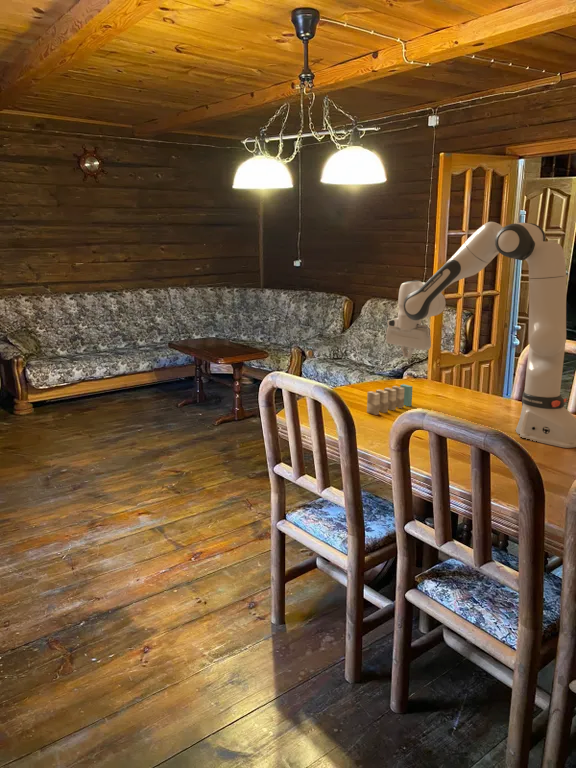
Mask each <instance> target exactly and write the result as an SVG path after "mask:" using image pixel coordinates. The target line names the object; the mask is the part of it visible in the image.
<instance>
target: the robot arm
mask: <svg viewBox="0 0 576 768" xmlns="http://www.w3.org/2000/svg"><path fill="white" fill-rule="evenodd" d="M499 254H501V255H502V256H504V257H507V258H509V259H513V260H518V261H526V263H527V266H528V345H529V347H528V354H527V363H526V373H525V381H524V390H523V392H522V396H521V397H522V399H521V407H522V408H521V412H520V416H519V419H518V420H519V421H518V423H517V426H516V427H515V430H516V431H515V432H516V434H518V435H519V434H520V435H519V438H520V437H522V438H526V439H525V440H527V439H530V440H529V441H532V440H533V441H532V442H536V441H537V442H536V443H541V444H545V445H550V446H554V447H560V448H565V449H567V448H568V449H569V448H570V449H572V448H576V417H575V416H574V415H573V414H572V413H571V412H570V411H568V409H567V408H566V407H565V403H567V402H568V401H567V399H568V398H563V396H562V394H561V387H562V386H561V385H562V379H563V369H564V359H565V349H566V343H567V267H566V258H565V253H564V248H563V247H562V245H561V244H559V243H558V242H555V241H546V232H545V230H544V229H543V228H542V227H541V226H539V225H538V224H536V223H532V222H531V223H530V222H529V223H527V222H516V223H511V224H507V225H505V226H502V225H501V224H500V223H499V222H498V223H497V222H495V221H488V222H485V223H484V224H482V225H481V226H480V227H478V229H476V230H475V231H474V232H473V233H472V234H471V235H470V236H469V237H468V238H467V239H466V240H465V241H464V243H463V244H462V245H461V246H460V247H459V248H458V249H457V250H456V252H455V253H454V254H453V255H452V256H451V257H450V258H449V259H448V260H447V261H446V262H445V263H444V264H443V266H441V267H440V268H439V269H438V270H437V271H436V272H435V273H434V274H433V275H432V276H431V277H430V278H429V279H428V280H427V281H426V282H425V283H423V282H422V281H421V280H416V279H415V280H410V281H404V282H403V283H401V284H400V287H399V290H398V298H397V299H398V300H397V301H398V302H397V303H398V313H397V317H395V318H393V319H389V320H387V324H386V325H387V327H386V328H387V329H386V334H385V335H386V336H385V337H386V338H385V340H386V343H387V344H388V345H394V346H398V347H399V346H400V349H401V351H402V358H405V359H407V360H409V359H410V360H411V359H413V358H412V357H413V353H414V352H415V349H416V350H420V351H427V350H428V351H429V350H430V349H431V347H432V338H431V329H430V327H428V325H427V324H426V325H424V324H421V323H422V321H421V320H422V319H426V318H431V317H436V316H438V315H441V314H443V312H444V311H445V309H446V306H447V305H446V304H447V302H446V297H445V295H444V294H443V291H445V290H446V289H447V288H448V287H449V286H451V285H452V284H454V283H456V282H459V281H461V280H463V279H466V278H469V277H473V276H475V275H477V274H478V273H479V272H481V271H482V270H484V269H485V268H486V267H487V266H488V264H490V263H491V262H492V261H493V259H495V257H497V255H499ZM522 438H521V439H522Z"/></svg>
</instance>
